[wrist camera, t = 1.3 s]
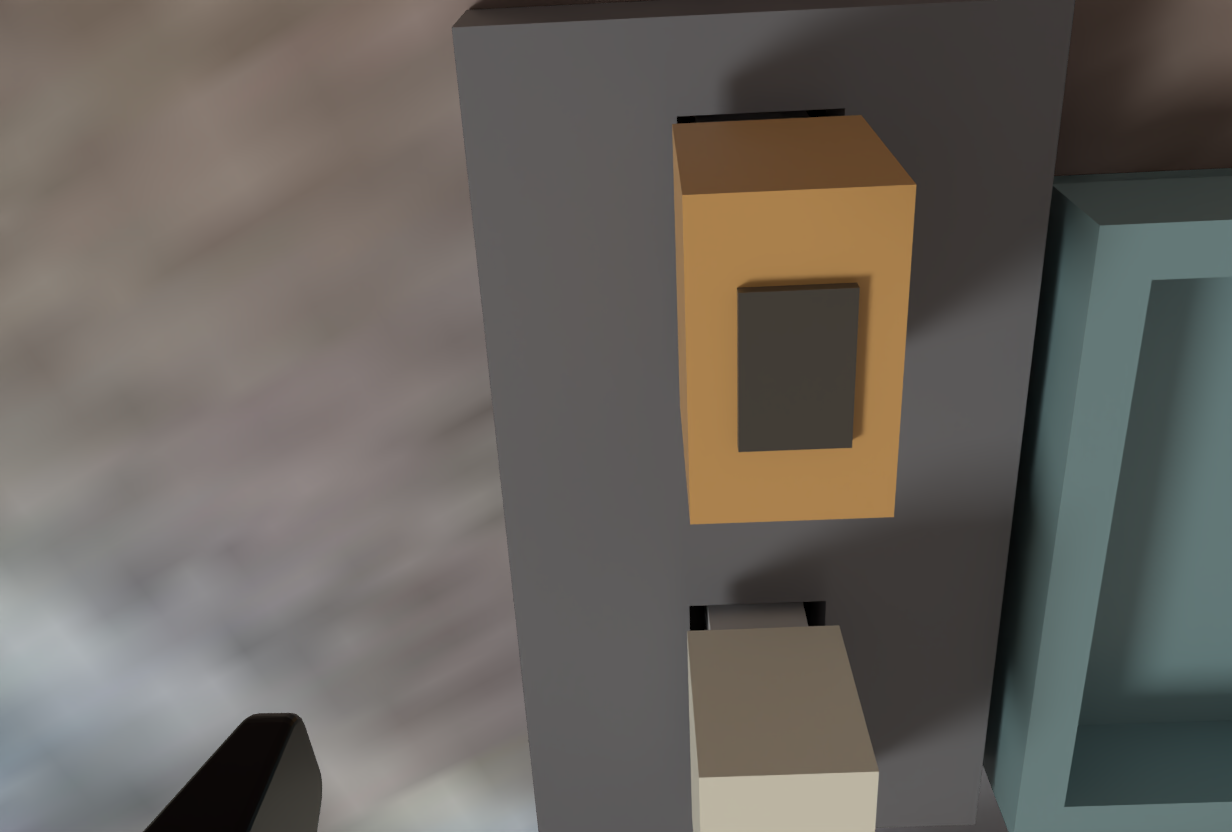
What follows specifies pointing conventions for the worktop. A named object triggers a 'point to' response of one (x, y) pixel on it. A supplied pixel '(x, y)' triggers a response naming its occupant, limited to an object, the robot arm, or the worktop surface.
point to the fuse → (776, 725)
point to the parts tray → (1123, 519)
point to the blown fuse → (790, 315)
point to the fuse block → (649, 372)
